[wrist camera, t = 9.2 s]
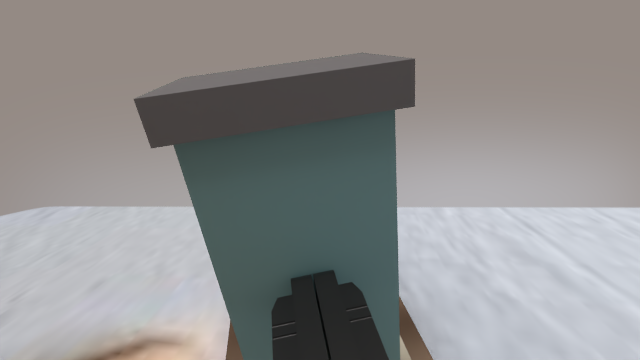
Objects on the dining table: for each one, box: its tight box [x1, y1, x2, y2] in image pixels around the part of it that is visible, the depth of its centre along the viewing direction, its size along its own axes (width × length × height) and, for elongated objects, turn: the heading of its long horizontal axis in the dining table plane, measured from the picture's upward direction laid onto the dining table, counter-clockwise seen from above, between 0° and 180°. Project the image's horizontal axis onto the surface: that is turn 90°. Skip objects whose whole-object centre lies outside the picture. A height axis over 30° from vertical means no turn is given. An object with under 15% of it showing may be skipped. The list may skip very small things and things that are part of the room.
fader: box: [134, 53, 415, 360], centre depth 13 cm, size 5×7×13 cm
